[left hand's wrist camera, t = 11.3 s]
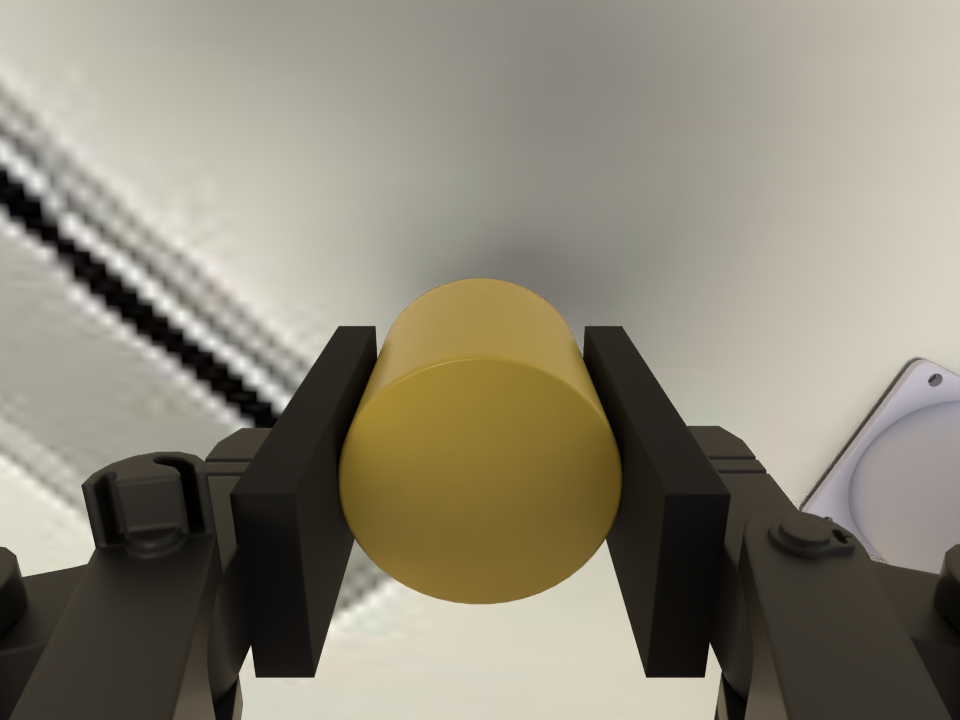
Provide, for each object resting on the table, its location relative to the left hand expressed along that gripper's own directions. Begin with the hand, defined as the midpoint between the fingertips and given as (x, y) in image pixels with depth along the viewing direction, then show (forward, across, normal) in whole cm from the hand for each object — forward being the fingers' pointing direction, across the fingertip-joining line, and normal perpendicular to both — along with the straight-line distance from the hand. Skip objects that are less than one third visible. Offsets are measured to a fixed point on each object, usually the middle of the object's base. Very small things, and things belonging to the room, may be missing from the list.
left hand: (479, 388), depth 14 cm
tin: (0, 0, 0) cm, 0 cm away
